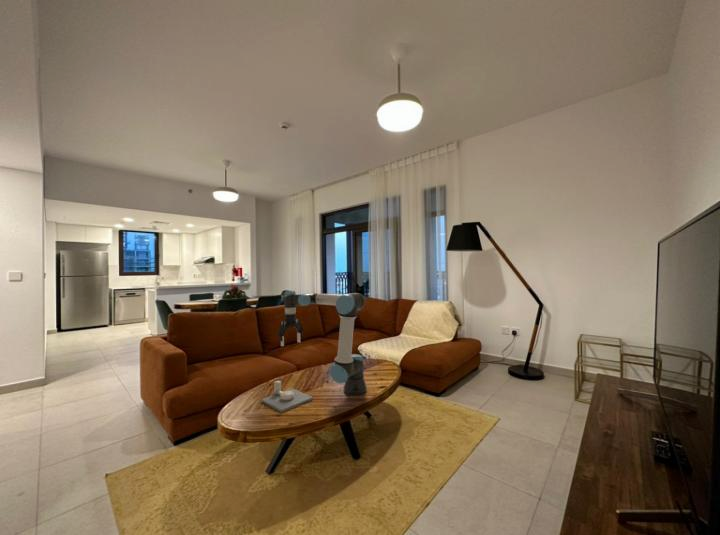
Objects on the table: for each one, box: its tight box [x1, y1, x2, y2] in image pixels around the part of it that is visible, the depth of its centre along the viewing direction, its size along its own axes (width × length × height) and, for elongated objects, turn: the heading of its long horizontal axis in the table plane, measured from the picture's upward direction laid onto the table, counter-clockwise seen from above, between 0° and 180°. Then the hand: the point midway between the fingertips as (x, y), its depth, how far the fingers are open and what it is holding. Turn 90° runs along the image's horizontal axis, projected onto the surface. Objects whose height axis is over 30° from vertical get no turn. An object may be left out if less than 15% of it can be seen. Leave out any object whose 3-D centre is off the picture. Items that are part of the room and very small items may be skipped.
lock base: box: [261, 388, 314, 414], centre depth 174 cm, size 22×22×2 cm
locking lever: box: [273, 380, 294, 401], centre depth 177 cm, size 17×8×7 cm, turn 47°
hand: (290, 344), depth 199 cm, fingers open, 13 cm apart
